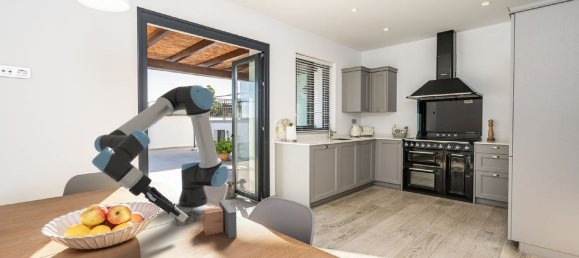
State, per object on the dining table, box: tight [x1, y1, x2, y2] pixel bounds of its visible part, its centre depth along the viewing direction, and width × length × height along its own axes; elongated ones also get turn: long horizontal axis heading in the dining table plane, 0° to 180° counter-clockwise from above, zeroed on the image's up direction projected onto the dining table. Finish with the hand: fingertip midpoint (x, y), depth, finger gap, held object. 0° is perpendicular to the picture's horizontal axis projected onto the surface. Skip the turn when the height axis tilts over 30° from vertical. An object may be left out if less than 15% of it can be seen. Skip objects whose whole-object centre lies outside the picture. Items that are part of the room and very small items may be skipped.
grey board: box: [219, 199, 238, 239], centre depth 115 cm, size 18×3×10 cm, turn 25°
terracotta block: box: [202, 206, 224, 236], centre depth 113 cm, size 6×7×9 cm
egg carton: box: [173, 208, 201, 226], centre depth 125 cm, size 11×8×4 cm
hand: (185, 219), depth 107 cm, fingers closed
